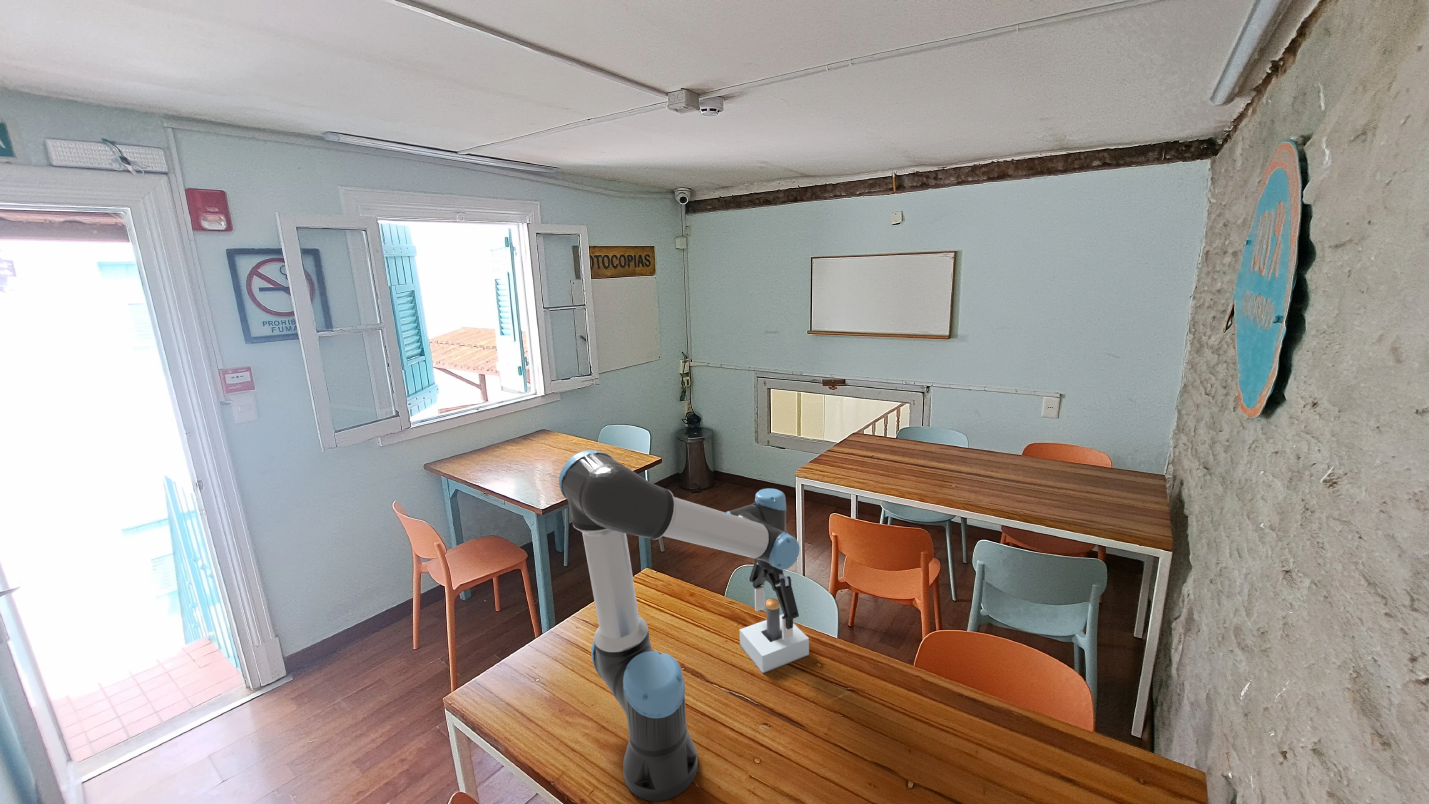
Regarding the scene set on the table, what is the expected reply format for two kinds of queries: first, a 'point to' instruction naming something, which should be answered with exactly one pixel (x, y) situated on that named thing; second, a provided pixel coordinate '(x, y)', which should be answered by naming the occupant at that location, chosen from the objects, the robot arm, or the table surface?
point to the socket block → (772, 646)
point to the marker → (773, 619)
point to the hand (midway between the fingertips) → (773, 622)
